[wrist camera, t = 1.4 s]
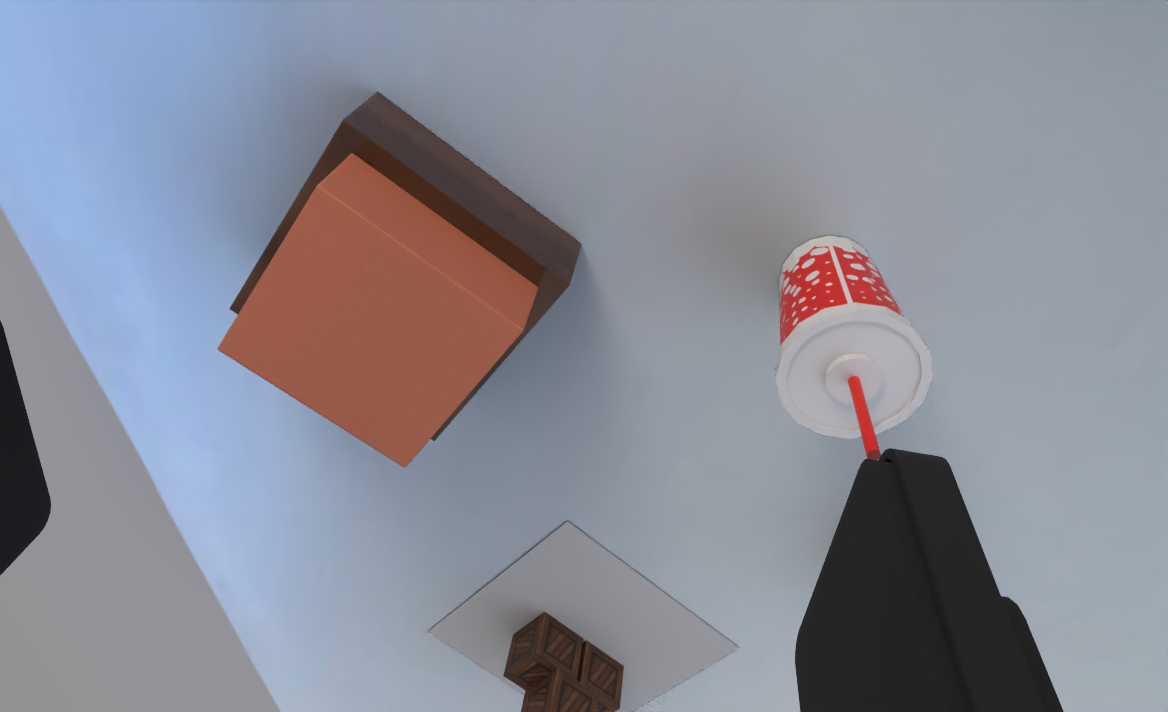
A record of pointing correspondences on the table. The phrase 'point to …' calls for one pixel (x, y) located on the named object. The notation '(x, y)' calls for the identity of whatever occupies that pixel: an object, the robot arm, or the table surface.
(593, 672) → the stack of crates
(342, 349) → the stack top
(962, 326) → the table surface
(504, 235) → the stack base
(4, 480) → the robot arm
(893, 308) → the beverage cup
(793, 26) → the table surface
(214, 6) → the table surface
